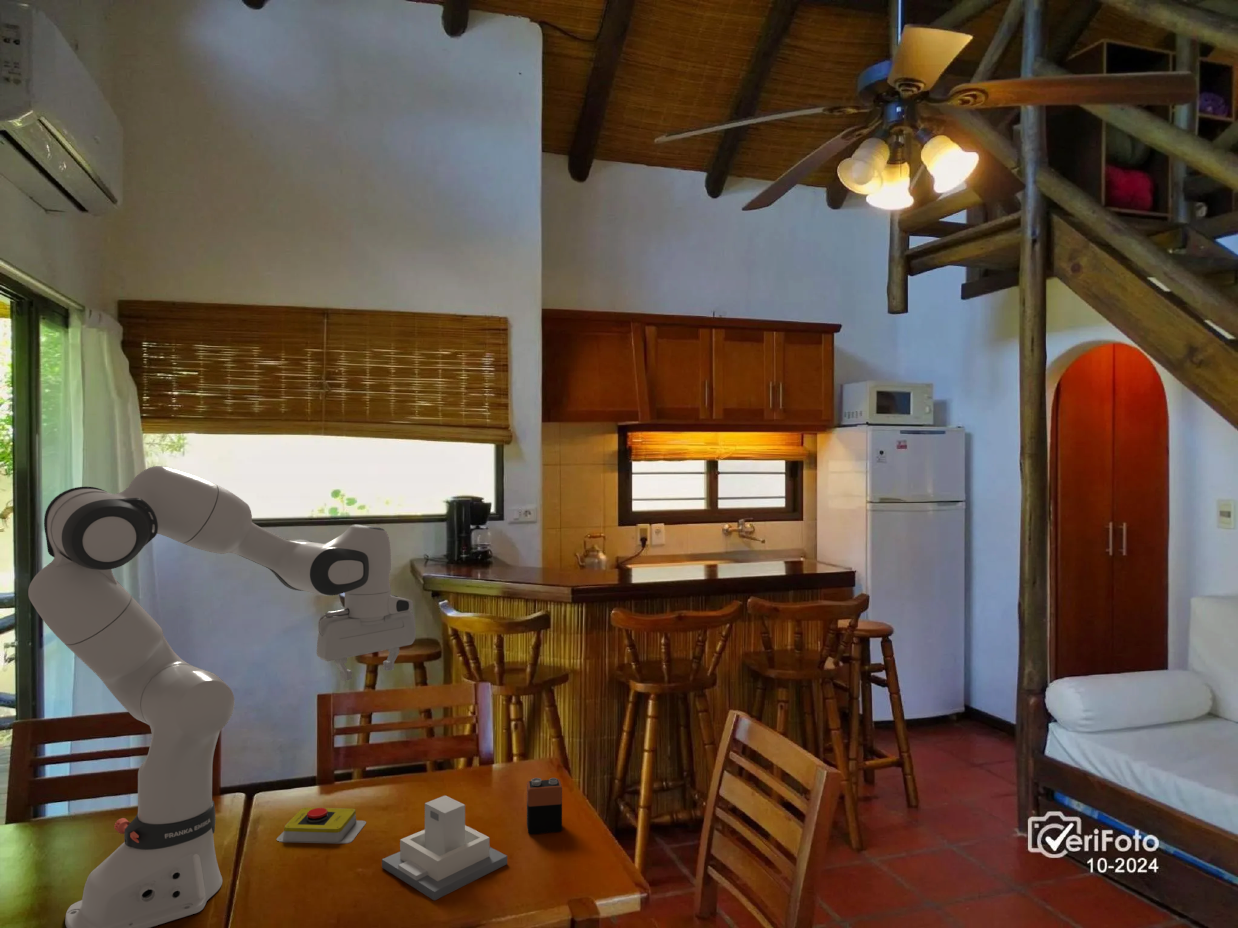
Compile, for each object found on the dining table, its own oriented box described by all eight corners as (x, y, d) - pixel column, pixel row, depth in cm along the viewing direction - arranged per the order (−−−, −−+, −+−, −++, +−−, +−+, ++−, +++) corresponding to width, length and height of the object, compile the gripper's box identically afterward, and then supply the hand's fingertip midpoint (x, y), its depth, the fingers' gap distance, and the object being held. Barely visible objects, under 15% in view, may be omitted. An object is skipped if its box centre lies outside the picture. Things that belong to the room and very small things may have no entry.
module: (444, 863, 140) (444, 813, 140) (424, 851, 144) (424, 803, 144) (465, 853, 143) (465, 804, 143) (445, 842, 147) (445, 795, 147)
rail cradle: (434, 900, 132) (434, 870, 132) (381, 867, 143) (382, 839, 143) (507, 863, 144) (507, 836, 144) (453, 835, 155) (454, 810, 155)
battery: (526, 824, 160) (526, 775, 159) (559, 822, 161) (560, 773, 161) (528, 835, 155) (528, 784, 155) (562, 832, 157) (562, 782, 156)
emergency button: (295, 800, 161) (367, 802, 161) (295, 821, 161) (367, 823, 161) (274, 821, 152) (350, 823, 152) (274, 844, 152) (350, 846, 152)
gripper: (327, 615, 147) (326, 689, 147) (420, 600, 162) (419, 667, 162) (310, 610, 151) (310, 682, 151) (402, 596, 166) (402, 661, 167)
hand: (367, 674), depth 157 cm, fingers open, 8 cm apart
